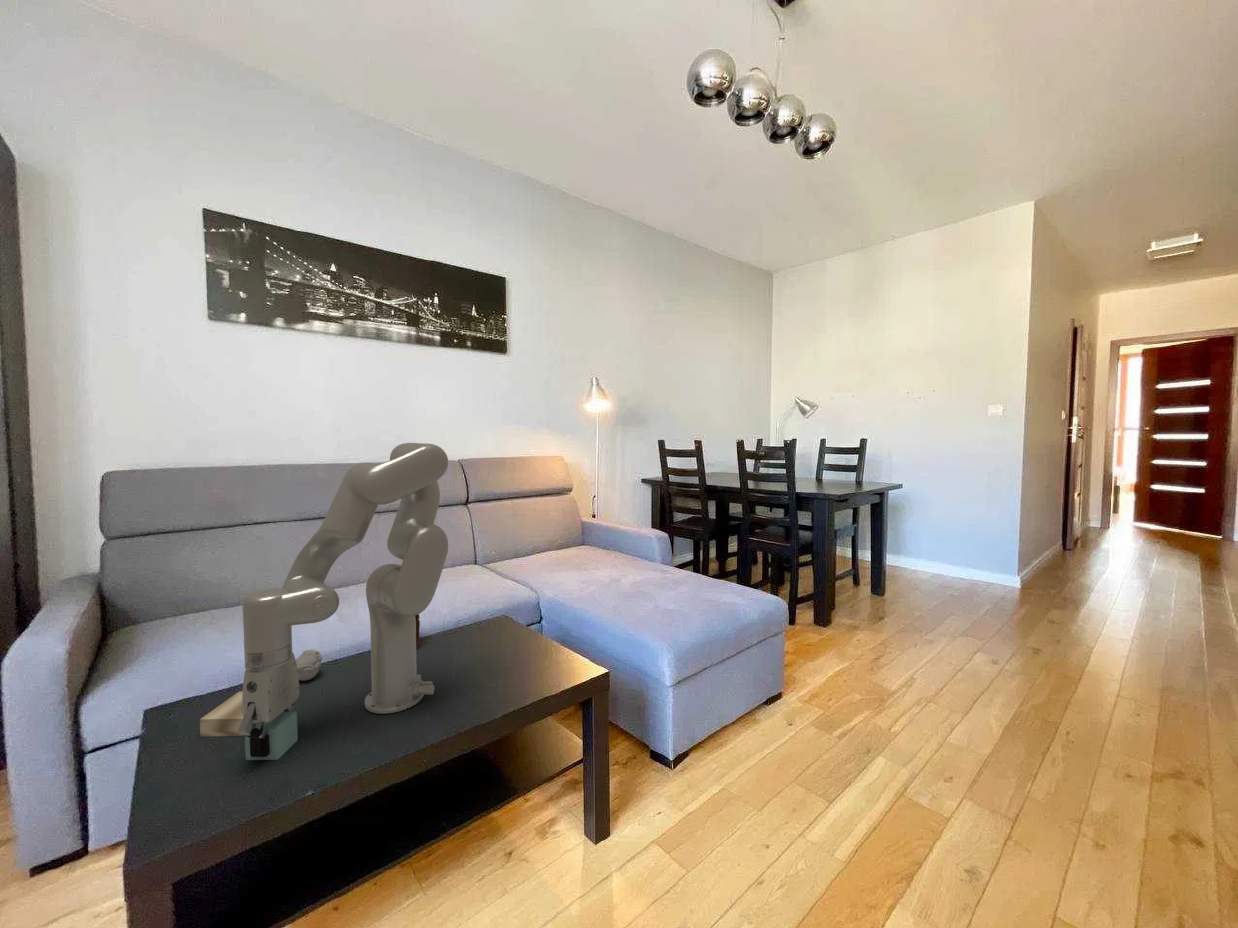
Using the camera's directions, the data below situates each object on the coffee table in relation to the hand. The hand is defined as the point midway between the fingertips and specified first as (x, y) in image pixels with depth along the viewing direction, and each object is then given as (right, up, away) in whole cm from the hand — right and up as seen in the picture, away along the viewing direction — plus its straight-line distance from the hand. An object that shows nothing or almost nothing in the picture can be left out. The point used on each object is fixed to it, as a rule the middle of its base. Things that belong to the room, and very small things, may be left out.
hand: (272, 743), depth 96 cm
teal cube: (0, -1, 0) cm, 1 cm away
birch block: (-12, -1, +10) cm, 16 cm away
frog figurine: (-11, 0, +28) cm, 30 cm away
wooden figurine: (+5, +1, +48) cm, 48 cm away
